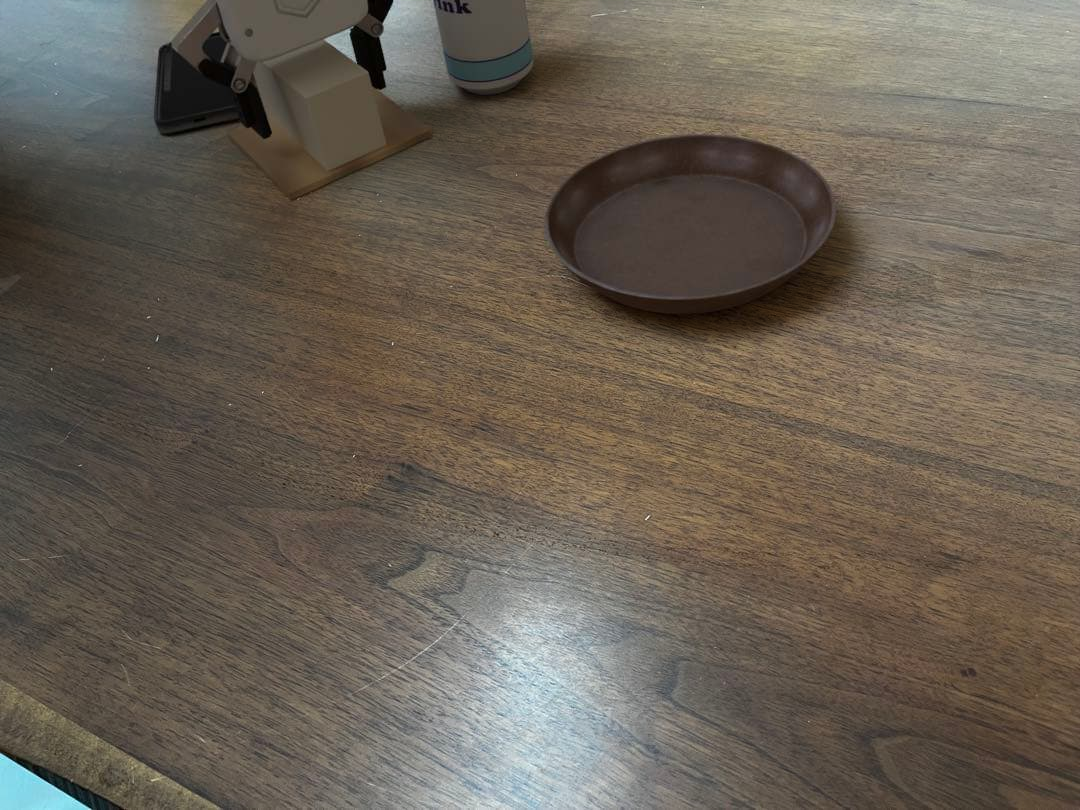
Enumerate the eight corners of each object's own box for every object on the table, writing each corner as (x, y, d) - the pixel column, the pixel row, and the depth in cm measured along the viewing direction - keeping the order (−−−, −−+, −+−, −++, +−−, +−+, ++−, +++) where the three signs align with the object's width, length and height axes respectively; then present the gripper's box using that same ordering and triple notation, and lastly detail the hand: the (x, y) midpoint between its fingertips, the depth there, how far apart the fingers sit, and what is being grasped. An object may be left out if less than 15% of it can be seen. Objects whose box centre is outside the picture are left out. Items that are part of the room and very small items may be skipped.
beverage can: (433, 83, 88) (402, -65, 80) (499, 50, 91) (475, -97, 83) (485, 110, 84) (458, -44, 76) (552, 74, 87) (533, -78, 79)
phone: (244, 26, 98) (249, 103, 87) (248, 37, 99) (253, 115, 88) (157, 44, 97) (151, 124, 87) (162, 56, 98) (156, 137, 87)
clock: (389, 144, 81) (371, 70, 77) (328, 172, 79) (305, 97, 75) (325, 93, 88) (305, 23, 84) (267, 117, 86) (244, 47, 82)
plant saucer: (605, 156, 77) (602, 118, 75) (858, 185, 71) (862, 144, 69) (506, 312, 66) (498, 272, 64) (795, 362, 60) (797, 320, 58)
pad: (291, 200, 78) (289, 193, 78) (228, 138, 86) (226, 131, 86) (432, 136, 82) (431, 129, 82) (360, 82, 90) (359, 76, 90)
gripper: (142, -74, 65) (233, 171, 77) (392, -158, 71) (440, 82, 83) (104, -103, 70) (195, 132, 82) (341, -180, 76) (393, 50, 88)
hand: (318, 106), depth 82 cm, fingers open, 9 cm apart
